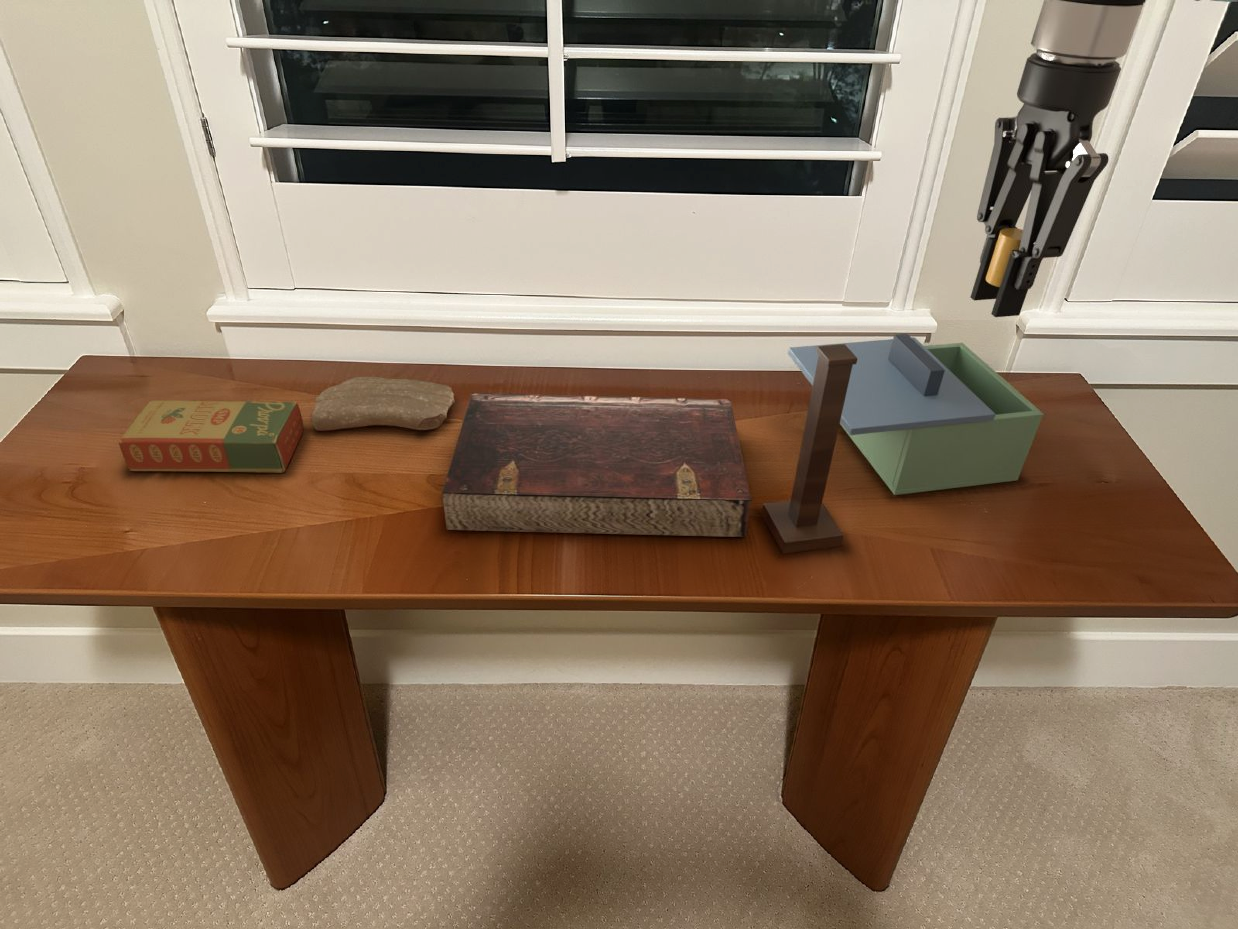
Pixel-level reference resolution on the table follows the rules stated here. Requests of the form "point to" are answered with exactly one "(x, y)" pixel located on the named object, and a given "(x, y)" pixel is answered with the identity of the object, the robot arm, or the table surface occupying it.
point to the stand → (814, 461)
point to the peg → (1003, 254)
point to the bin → (958, 436)
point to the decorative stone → (382, 404)
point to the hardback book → (598, 466)
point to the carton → (213, 436)
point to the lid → (898, 387)
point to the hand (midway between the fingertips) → (994, 305)
